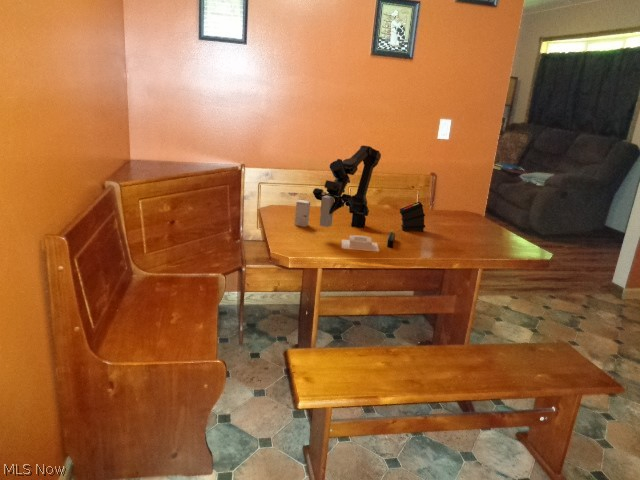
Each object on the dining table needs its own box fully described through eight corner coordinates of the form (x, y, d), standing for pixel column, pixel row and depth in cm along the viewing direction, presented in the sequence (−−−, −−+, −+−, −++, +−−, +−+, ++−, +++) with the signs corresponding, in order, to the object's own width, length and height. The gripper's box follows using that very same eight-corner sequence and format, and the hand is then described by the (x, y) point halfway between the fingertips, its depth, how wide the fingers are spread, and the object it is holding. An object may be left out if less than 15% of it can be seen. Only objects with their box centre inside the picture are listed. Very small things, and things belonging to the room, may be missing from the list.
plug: (319, 225, 205) (322, 196, 201) (324, 223, 208) (326, 195, 204) (327, 227, 203) (330, 198, 199) (331, 225, 206) (334, 197, 202)
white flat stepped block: (341, 250, 198) (342, 241, 197) (341, 241, 210) (342, 233, 208) (378, 253, 198) (379, 245, 197) (376, 244, 209) (377, 236, 208)
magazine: (430, 229, 234) (422, 202, 229) (406, 238, 235) (397, 212, 230) (428, 227, 238) (419, 201, 233) (404, 236, 238) (395, 210, 233)
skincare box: (294, 225, 228) (295, 201, 224) (297, 223, 232) (298, 199, 228) (305, 227, 226) (307, 203, 222) (308, 224, 230) (310, 201, 226)
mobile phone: (394, 240, 202) (395, 230, 216) (387, 239, 203) (389, 229, 217) (393, 251, 204) (394, 240, 218) (386, 250, 204) (387, 239, 218)
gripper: (316, 170, 206) (301, 198, 200) (353, 177, 197) (339, 206, 192) (323, 185, 215) (309, 212, 209) (359, 192, 207) (345, 220, 201)
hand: (325, 212), depth 203 cm, fingers closed on plug, 4 cm apart
